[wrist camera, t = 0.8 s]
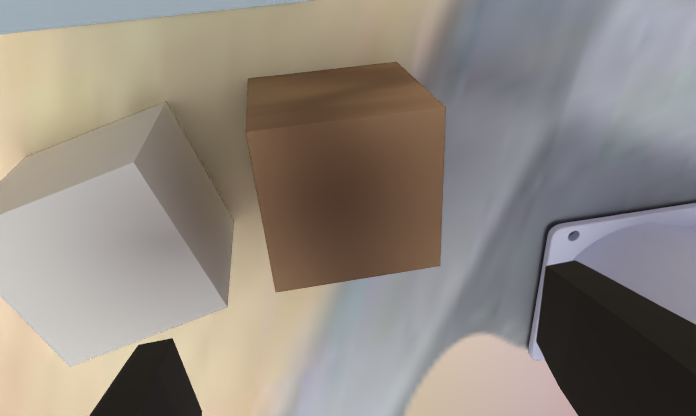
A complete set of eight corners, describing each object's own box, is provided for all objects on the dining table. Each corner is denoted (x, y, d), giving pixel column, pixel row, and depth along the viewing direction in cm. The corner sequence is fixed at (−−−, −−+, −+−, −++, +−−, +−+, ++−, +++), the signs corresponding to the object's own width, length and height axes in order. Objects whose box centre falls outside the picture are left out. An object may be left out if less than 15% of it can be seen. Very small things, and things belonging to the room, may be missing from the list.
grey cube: (166, 100, 16) (133, 162, 11) (233, 220, 18) (227, 307, 14) (27, 155, 16) (-58, 237, 12) (113, 266, 18) (70, 367, 14)
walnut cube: (395, 61, 16) (445, 107, 12) (398, 190, 19) (440, 265, 15) (248, 78, 16) (245, 132, 12) (270, 208, 18) (275, 292, 14)
